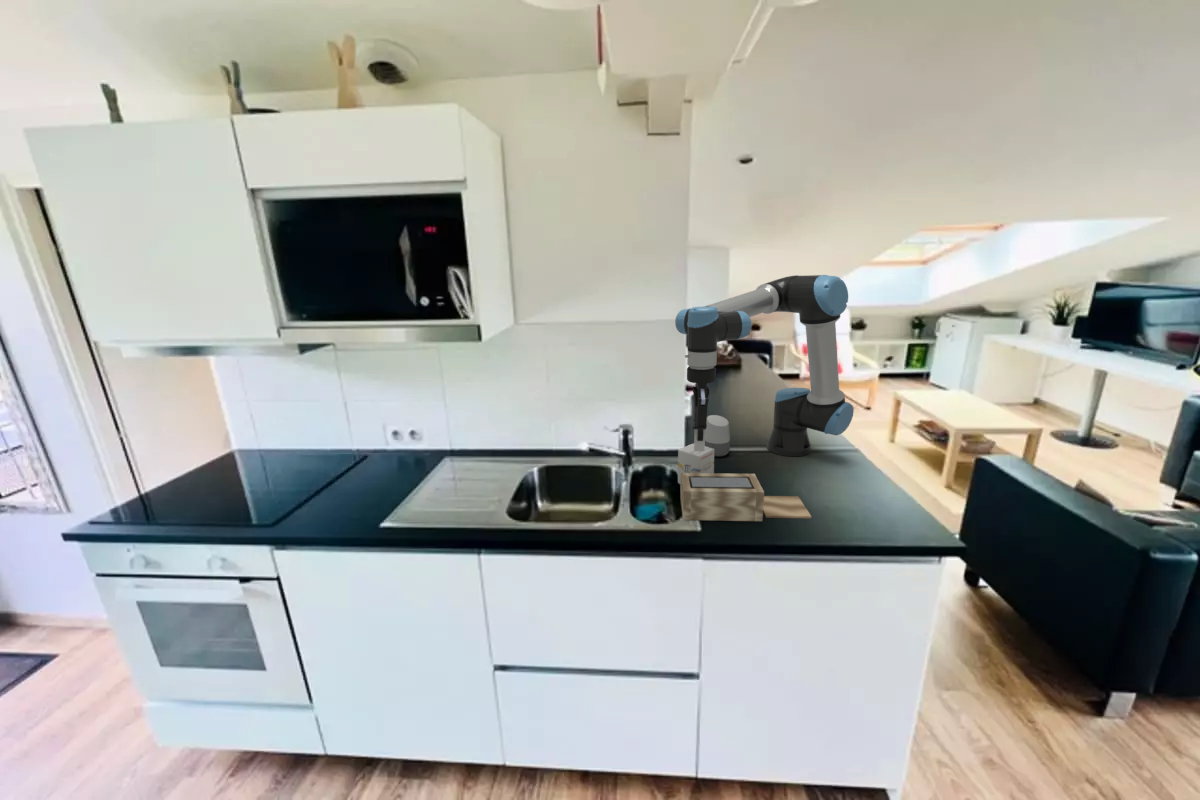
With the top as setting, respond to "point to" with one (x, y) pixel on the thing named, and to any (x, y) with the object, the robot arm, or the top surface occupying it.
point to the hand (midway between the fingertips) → (699, 450)
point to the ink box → (695, 461)
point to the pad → (784, 507)
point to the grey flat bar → (720, 483)
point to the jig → (721, 499)
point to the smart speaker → (717, 435)
